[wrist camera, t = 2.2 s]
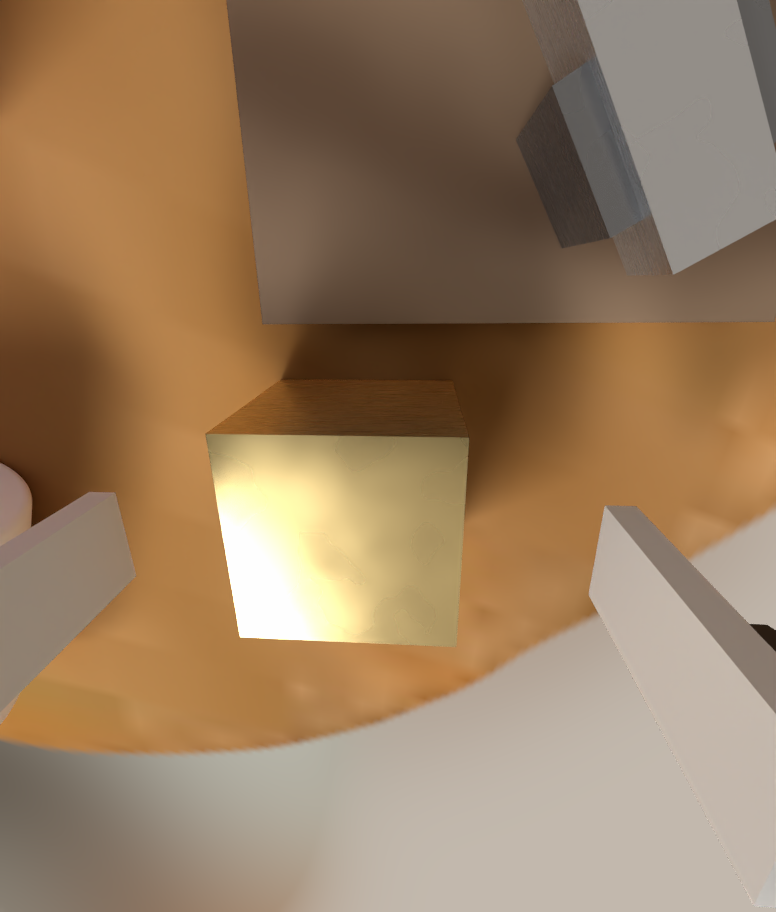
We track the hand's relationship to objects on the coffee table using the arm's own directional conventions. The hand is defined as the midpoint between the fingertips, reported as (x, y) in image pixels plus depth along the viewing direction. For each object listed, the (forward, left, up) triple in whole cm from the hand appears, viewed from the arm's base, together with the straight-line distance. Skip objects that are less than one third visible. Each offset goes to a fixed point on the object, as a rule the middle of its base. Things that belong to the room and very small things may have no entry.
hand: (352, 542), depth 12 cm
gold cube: (0, 0, -5) cm, 5 cm away
